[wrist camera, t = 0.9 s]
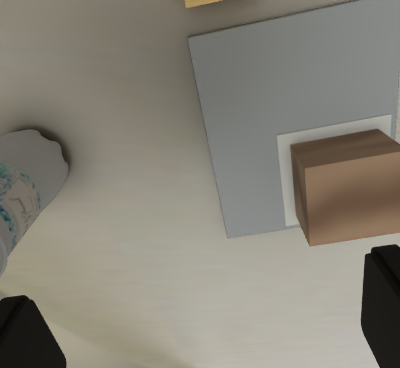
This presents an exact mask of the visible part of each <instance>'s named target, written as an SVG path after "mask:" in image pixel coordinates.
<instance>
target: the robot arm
mask: <svg viewBox="0 0 400 368" xmlns="http://www.w3.org/2000/svg"><path fill="white" fill-rule="evenodd" d="M361 327H362V331H363V334H364V336H365V338H366V340H367V342H368V344H369V346H370V348H371V350H372V352H373V355H374V357H375V359H376V361H377V363H378V365H379V367H380V368H400V247H399V246H398V245H396V244H393V245H386V246H379V247H373V248H372V249H371V253H369V254H366V255H365V263H364V279H363V295H362V311H361ZM0 368H66V358H65V356H64V354H63V353H62V350H61V349H60V347H59V345H58V343H57V342H56V340H55V338H54V336H53V335H52V333H51V331H50V329H49V327H48V325H47V324H46V322H45V320H44V318H43V317H42V315H41V313H40V311H39V309H38V308H37V306H36V304H35V302H34V301H33V300H29V298H28V297H27V296H25V295H21V296H14V297H7V298H3V299H2V300H1V301H0Z"/></svg>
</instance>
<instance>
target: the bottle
mask: <svg viewBox="0 0 400 368" xmlns="http://www.w3.org/2000/svg"><path fill="white" fill-rule="evenodd" d="M61 150H62V149H61V146H60V145H59V144H58V143H57V142H56V141H50V140H48V139H46V138H44V137H42V136H41V134H40V132H39V131H37V130H32V129H28V130H22V131H16V132H10V133H6V134H4V135H2V136H0V277H1V275H2V274H3V272H4V270H5V268H6V265H7V257H8V256H9V254H10V253H11V252H12V250H13V249H14V248H15V246H16V245H17V244H18V242H19V241H20V240H21V238H22V237H23V236H24V234H25V233H26V232H27V230H28V229H29V228H30V226H31V225H32V224H33V222H34V221H35V219H36V218H37V217H38V215H39V214H40V213H41V212H42V211H43V210H44V209H45V208H46V207H47V206H48V204H49V203H50V202H51V201H52V200H53V199H54V198H55V197H56V195H57V194H58V193H59V191H60V190H61V188H62V186H63V184H64V182H65V180H66V177H67V174H68V164H67V162H66V161H64V159H63V156H62V152H61Z"/></svg>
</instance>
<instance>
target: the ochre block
mask: <svg viewBox="0 0 400 368" xmlns="http://www.w3.org/2000/svg"><path fill="white" fill-rule="evenodd" d="M218 1H222V0H185V6H186V8H190V7H195V6H199V5H204V4H209V3H213V2H218Z"/></svg>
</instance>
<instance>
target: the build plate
mask: <svg viewBox="0 0 400 368" xmlns="http://www.w3.org/2000/svg"><path fill="white" fill-rule="evenodd" d="M187 39H188V44H189V49H190V54H191V59H192V64H193V69H194V74H195V79H196V84H197V89H198V94H199V99H200V104H201V108H202V113H203V118H204V123H205V128H206V133H207V138H208V143H209V148H210V153H211V158H212V163H213V168H214V173H215V178H216V183H217V188H218V193H219V198H220V203H221V208H222V213H223V218H224V222H225V227H226V232H227V237H228V239H229V238H235V237H241V236H248V235H254V234H260V233H266V232H272V231H278V230H285V229H291V228H297V227H301V226H300V223H299V221H298V219H297V217H296V210H295V199H294V187H293V175H292V163H291V152H290V145H291V144H297V143H302V142H308V141H313V140H319V139H324V138H329V137H335V136H340V135H346V134H351V133H357V132H362V131H368V130H373V129H379V130H381V131H382V132H383V133H385V134H386V135H388V136H389V137H390V138H392V139H393V140H394V141H395V134H396V119H397V104H398V88H399V73H400V0H354V1H349V2H345V3H340V4H336V5H331V6H326V7H322V8H317V9H313V10H308V11H303V12H299V13H294V14H290V15H285V16H281V17H276V18H271V19H267V20H262V21H258V22H253V23H248V24H244V25H239V26H235V27H230V28H225V29H221V30H216V31H212V32H207V33H202V34H198V35H193V36H189V37H188V38H187Z"/></svg>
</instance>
